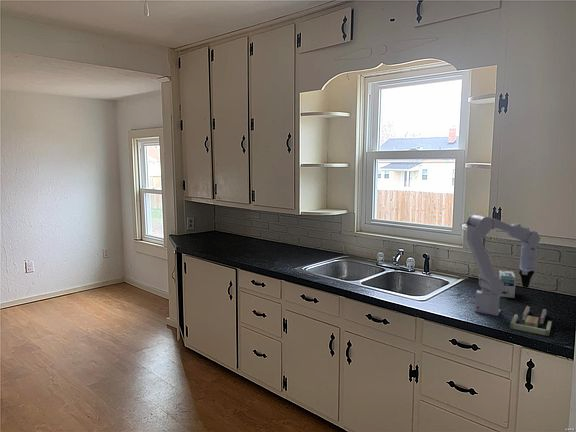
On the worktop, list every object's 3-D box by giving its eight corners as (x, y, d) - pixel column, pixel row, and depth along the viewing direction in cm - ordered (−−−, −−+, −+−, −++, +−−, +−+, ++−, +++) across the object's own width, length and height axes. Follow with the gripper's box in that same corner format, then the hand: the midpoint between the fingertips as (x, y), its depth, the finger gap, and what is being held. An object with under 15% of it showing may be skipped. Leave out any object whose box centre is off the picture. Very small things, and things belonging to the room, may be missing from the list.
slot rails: (522, 319, 180) (522, 314, 180) (526, 311, 190) (526, 305, 190) (543, 324, 176) (543, 318, 176) (545, 314, 186) (546, 309, 185)
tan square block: (525, 325, 175) (526, 318, 175) (527, 322, 178) (527, 315, 178) (537, 327, 173) (537, 320, 173) (538, 324, 176) (538, 317, 176)
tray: (509, 328, 172) (510, 323, 172) (514, 318, 182) (514, 314, 181) (548, 336, 165) (549, 331, 164) (551, 326, 174) (551, 321, 174)
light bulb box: (514, 298, 207) (516, 276, 205) (499, 296, 209) (500, 275, 208) (512, 291, 217) (513, 271, 215) (497, 290, 219) (498, 269, 218)
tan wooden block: (524, 328, 172) (524, 321, 172) (525, 325, 175) (526, 318, 175) (535, 331, 170) (536, 323, 169) (536, 327, 173) (537, 320, 173)
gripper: (536, 261, 181) (533, 292, 183) (540, 255, 193) (537, 284, 195) (517, 259, 185) (515, 289, 187) (522, 253, 197) (520, 281, 199)
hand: (525, 286), depth 191 cm, fingers closed
